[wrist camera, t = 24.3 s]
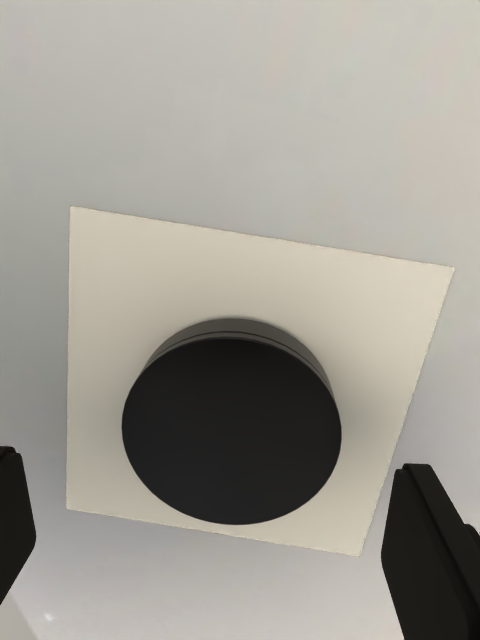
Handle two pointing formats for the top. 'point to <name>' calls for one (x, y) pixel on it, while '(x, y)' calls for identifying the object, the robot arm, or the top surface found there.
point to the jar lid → (232, 423)
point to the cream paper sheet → (253, 304)
